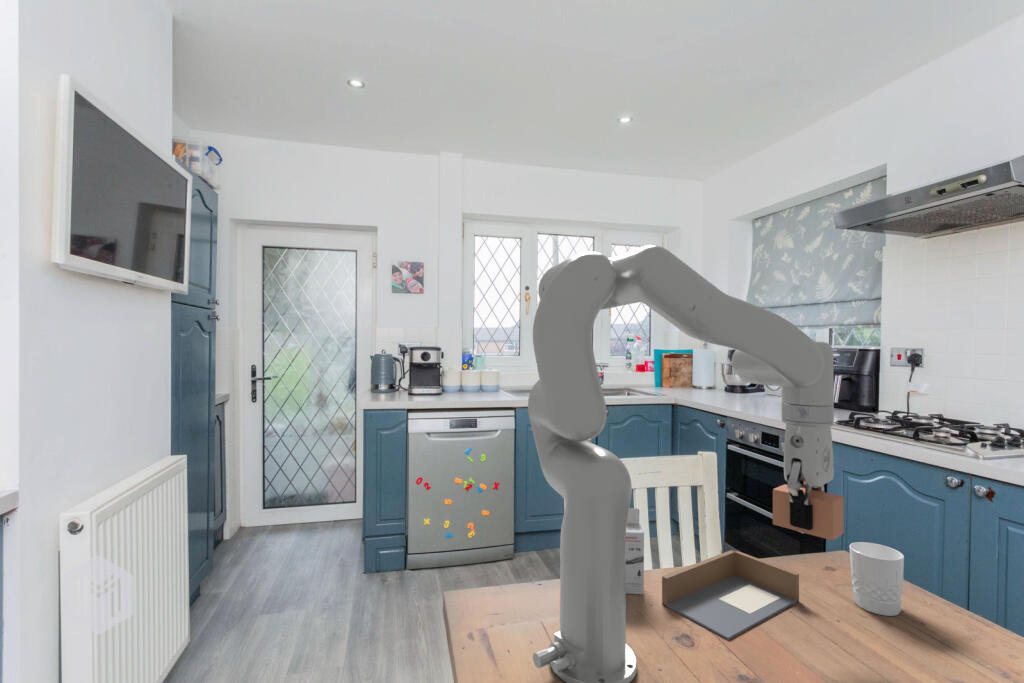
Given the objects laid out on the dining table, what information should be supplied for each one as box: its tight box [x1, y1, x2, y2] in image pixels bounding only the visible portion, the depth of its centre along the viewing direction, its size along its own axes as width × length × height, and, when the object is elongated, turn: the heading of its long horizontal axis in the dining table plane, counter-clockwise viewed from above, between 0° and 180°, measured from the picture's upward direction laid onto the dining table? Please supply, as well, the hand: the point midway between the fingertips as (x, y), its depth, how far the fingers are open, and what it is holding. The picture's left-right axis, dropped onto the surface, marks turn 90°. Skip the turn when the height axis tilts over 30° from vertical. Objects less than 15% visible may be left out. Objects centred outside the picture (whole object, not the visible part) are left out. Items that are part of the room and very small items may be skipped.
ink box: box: [626, 507, 645, 595], centre depth 94 cm, size 9×5×15 cm, turn 84°
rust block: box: [772, 484, 845, 541], centre depth 81 cm, size 5×9×6 cm, turn 39°
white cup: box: [849, 541, 905, 617], centre depth 87 cm, size 8×8×10 cm
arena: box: [661, 548, 800, 641], centre depth 88 cm, size 22×13×5 cm, turn 123°
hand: (807, 522), depth 81 cm, fingers closed on rust block, 5 cm apart
